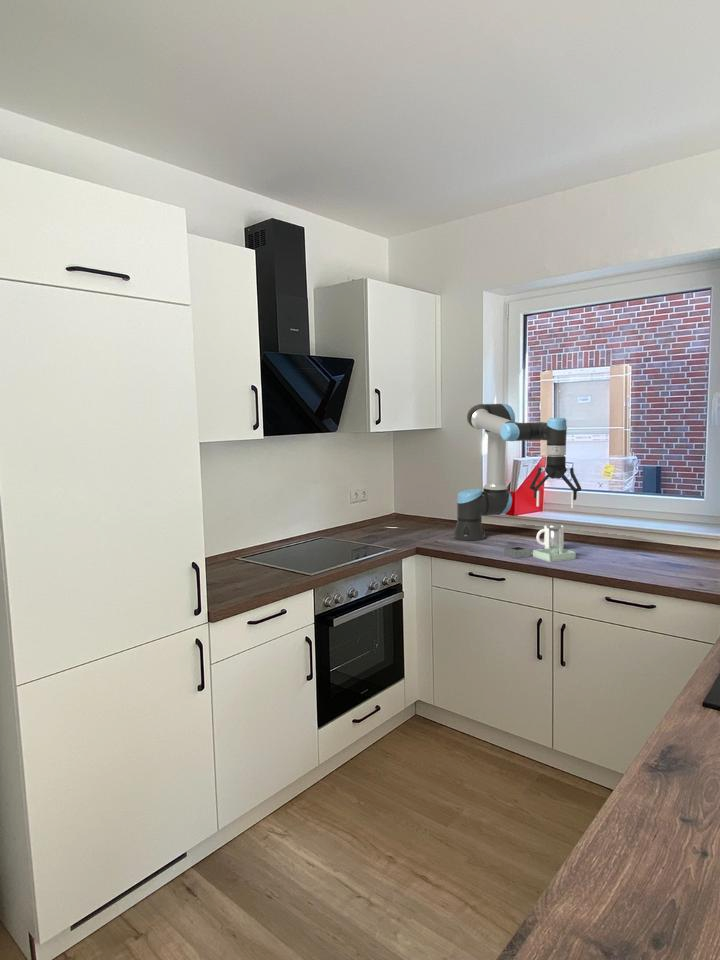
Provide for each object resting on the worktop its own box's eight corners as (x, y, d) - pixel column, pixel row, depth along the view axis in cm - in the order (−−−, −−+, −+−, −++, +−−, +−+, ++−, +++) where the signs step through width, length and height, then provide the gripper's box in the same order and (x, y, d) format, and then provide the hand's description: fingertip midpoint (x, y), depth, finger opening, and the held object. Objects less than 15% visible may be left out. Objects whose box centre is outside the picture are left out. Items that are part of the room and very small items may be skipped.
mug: (539, 551, 270) (539, 528, 269) (533, 547, 278) (533, 524, 277) (566, 550, 270) (566, 527, 269) (559, 546, 279) (559, 524, 278)
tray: (532, 556, 260) (533, 550, 260) (557, 553, 265) (557, 547, 265) (550, 562, 250) (550, 555, 250) (575, 558, 255) (575, 552, 254)
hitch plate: (504, 554, 265) (504, 547, 264) (519, 552, 268) (519, 545, 267) (515, 558, 257) (515, 551, 257) (531, 556, 260) (531, 549, 260)
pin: (547, 554, 261) (547, 523, 260) (561, 555, 259) (561, 524, 257) (546, 557, 256) (546, 525, 254) (560, 558, 254) (560, 526, 252)
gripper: (523, 455, 254) (522, 506, 257) (588, 457, 245) (586, 509, 247) (526, 454, 261) (525, 504, 264) (588, 455, 252) (587, 507, 254)
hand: (554, 507), depth 255 cm, fingers open, 13 cm apart
